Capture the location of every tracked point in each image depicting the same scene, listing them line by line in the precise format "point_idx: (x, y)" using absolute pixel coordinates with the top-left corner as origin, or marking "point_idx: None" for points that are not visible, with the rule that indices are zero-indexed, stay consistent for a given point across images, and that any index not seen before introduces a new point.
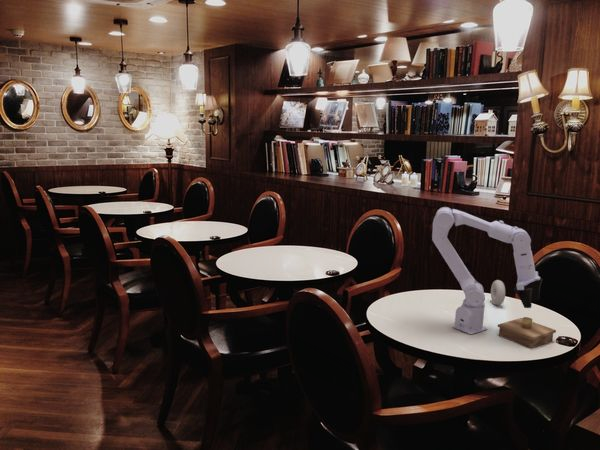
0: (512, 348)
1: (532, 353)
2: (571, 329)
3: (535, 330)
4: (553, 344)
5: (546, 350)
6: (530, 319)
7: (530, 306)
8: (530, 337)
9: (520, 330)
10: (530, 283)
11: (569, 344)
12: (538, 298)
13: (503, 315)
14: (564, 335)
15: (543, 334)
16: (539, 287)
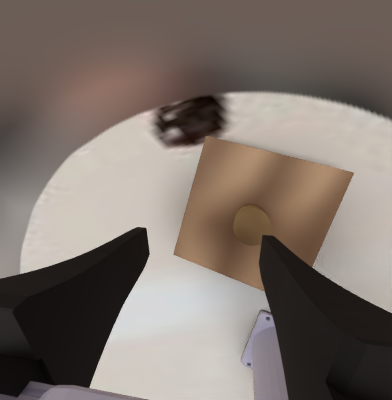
0: (372, 219)
1: (372, 158)
2: (100, 138)
3: (261, 187)
4: (242, 136)
5: (309, 134)
6: (251, 216)
7: (277, 239)
8: (348, 181)
9: (301, 228)
10: (82, 351)
11: (209, 102)
12: (142, 231)
13: (128, 295)
14: (152, 136)
15: (280, 154)
16: (86, 263)
